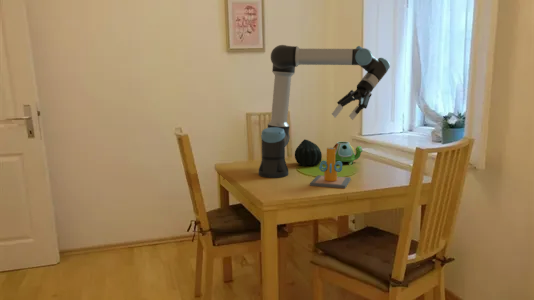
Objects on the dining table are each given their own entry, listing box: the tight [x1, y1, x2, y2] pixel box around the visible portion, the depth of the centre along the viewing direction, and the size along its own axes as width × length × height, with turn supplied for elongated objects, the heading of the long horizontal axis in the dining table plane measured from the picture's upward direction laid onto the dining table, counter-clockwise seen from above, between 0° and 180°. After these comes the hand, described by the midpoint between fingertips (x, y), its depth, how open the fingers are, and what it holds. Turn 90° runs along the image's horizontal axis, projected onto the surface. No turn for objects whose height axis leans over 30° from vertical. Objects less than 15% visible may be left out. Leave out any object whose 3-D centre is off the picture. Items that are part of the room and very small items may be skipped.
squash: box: [294, 139, 323, 167], centre depth 237 cm, size 14×15×15 cm
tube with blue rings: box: [318, 147, 343, 181], centre depth 196 cm, size 12×10×15 cm
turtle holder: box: [332, 141, 363, 165], centre depth 242 cm, size 12×18×12 cm
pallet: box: [309, 175, 352, 189], centre depth 198 cm, size 16×16×1 cm
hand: (341, 116), depth 204 cm, fingers open, 13 cm apart
